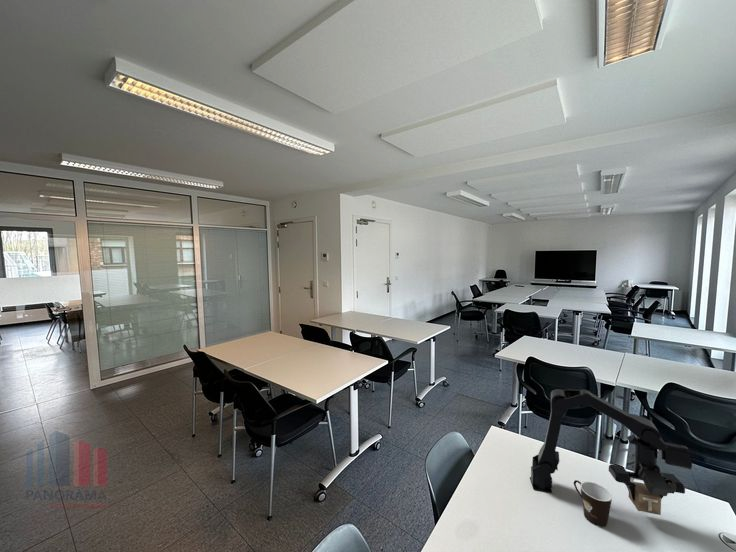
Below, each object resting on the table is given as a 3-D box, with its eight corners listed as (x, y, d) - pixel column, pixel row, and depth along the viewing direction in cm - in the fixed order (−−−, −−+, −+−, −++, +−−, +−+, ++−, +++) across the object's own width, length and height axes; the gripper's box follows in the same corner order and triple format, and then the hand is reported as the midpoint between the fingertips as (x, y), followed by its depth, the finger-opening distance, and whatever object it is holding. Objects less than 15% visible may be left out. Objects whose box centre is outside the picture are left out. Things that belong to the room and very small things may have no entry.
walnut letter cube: (638, 511, 98) (639, 494, 98) (628, 497, 104) (629, 480, 104) (661, 515, 96) (661, 498, 96) (649, 500, 102) (649, 484, 102)
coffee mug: (617, 532, 96) (618, 503, 95) (588, 527, 98) (588, 499, 97) (597, 503, 107) (597, 477, 107) (571, 500, 109) (571, 474, 109)
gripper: (624, 468, 95) (623, 514, 95) (699, 480, 89) (697, 529, 90) (608, 447, 105) (607, 488, 106) (673, 457, 100) (672, 500, 100)
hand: (644, 501), depth 100 cm, fingers closed on walnut letter cube, 6 cm apart
